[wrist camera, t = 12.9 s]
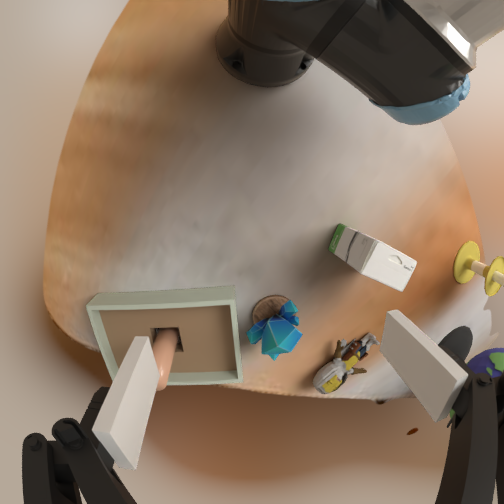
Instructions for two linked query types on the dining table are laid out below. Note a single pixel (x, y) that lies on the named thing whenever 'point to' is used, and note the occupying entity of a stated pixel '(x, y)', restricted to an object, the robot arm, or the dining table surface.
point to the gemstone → (275, 325)
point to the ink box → (372, 257)
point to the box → (173, 315)
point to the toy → (343, 364)
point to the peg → (165, 353)
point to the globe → (481, 363)
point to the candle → (478, 268)
